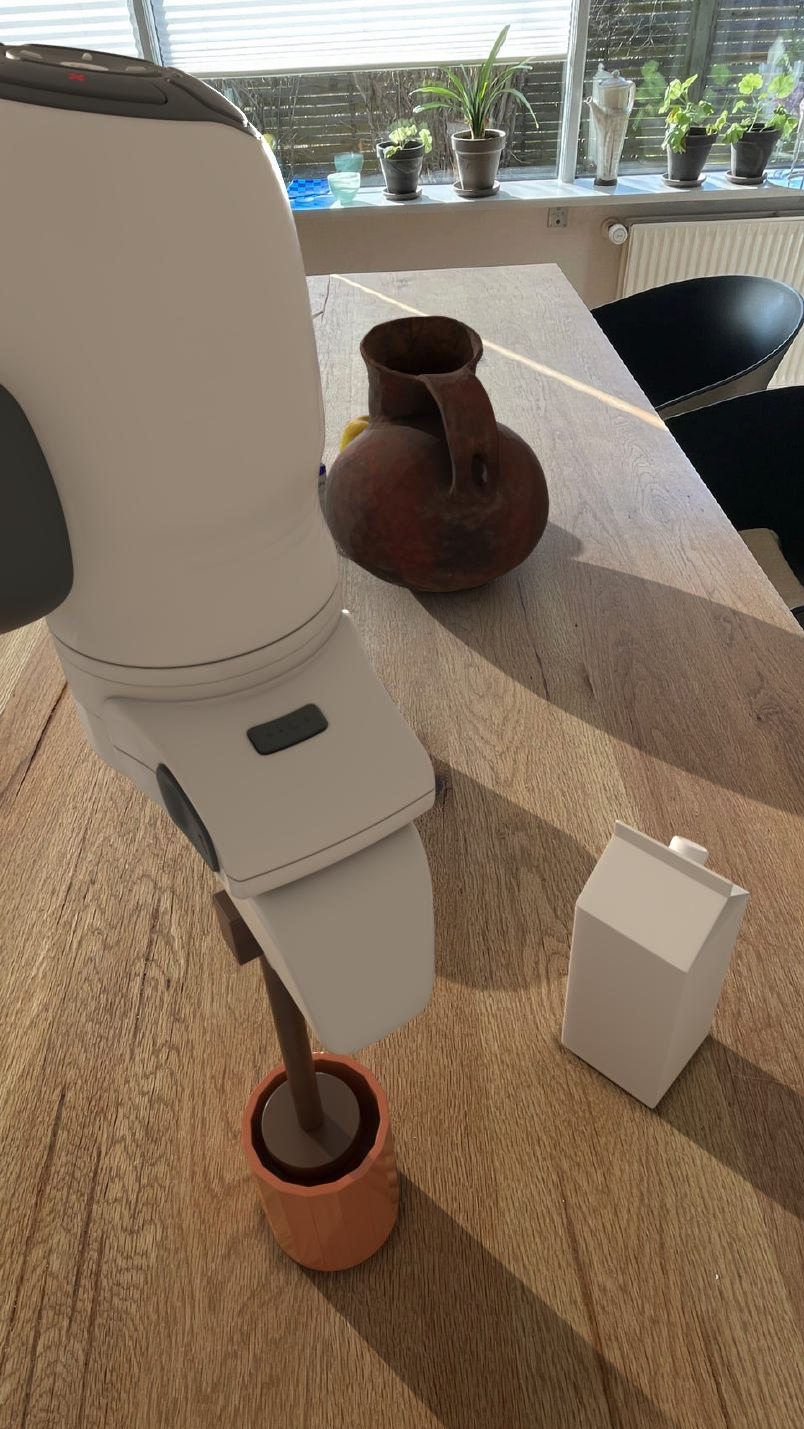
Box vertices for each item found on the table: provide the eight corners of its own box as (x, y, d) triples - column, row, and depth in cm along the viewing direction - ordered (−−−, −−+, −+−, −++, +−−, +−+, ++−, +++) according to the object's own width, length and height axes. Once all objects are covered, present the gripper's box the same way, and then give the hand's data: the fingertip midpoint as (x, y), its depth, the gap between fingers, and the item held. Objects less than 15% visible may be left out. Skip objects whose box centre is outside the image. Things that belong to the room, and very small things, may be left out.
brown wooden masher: (292, 1201, 48) (228, 965, 35) (249, 1119, 52) (176, 875, 39) (379, 1146, 50) (349, 902, 37) (332, 1070, 54) (289, 822, 41)
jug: (345, 640, 100) (319, 412, 84) (322, 525, 119) (298, 321, 103) (574, 609, 102) (592, 380, 86) (516, 501, 121) (522, 297, 105)
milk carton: (652, 1111, 60) (698, 926, 48) (559, 1044, 64) (579, 857, 51) (709, 1034, 64) (765, 844, 51) (618, 975, 67) (649, 785, 55)
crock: (306, 1301, 53) (282, 1227, 46) (247, 1181, 58) (218, 1099, 51) (424, 1220, 56) (417, 1140, 49) (357, 1112, 61) (343, 1027, 54)
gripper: (26, 552, 36) (112, 806, 45) (255, 910, 23) (314, 1172, 32) (181, 505, 39) (234, 755, 47) (472, 803, 25) (470, 1074, 34)
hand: (268, 924), depth 39 cm, fingers closed on brown wooden masher
